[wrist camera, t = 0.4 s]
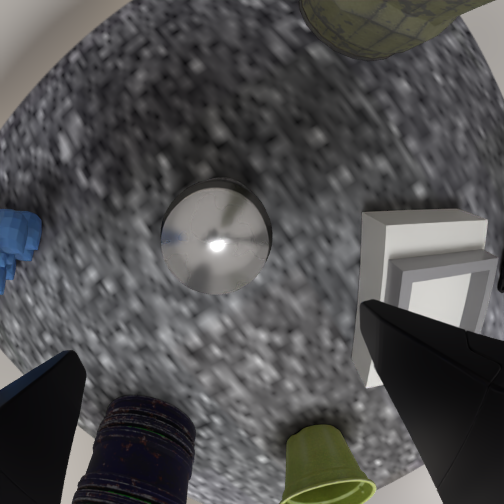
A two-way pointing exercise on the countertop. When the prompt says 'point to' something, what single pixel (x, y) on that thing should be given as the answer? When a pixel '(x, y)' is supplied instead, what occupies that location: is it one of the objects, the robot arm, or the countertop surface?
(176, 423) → the storage jar
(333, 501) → the plant pot
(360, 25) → the thermos
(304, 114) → the countertop surface
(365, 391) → the countertop surface
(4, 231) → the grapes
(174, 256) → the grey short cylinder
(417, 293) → the grey open box
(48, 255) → the countertop surface
